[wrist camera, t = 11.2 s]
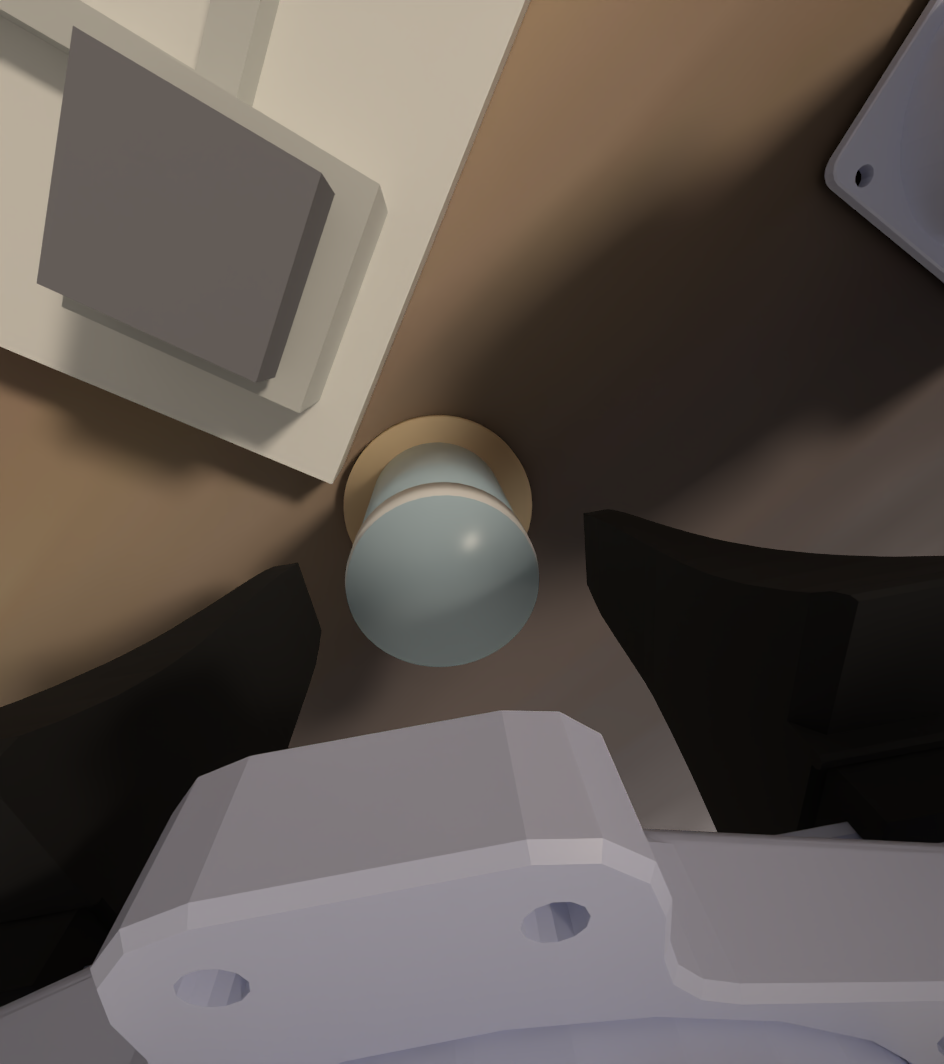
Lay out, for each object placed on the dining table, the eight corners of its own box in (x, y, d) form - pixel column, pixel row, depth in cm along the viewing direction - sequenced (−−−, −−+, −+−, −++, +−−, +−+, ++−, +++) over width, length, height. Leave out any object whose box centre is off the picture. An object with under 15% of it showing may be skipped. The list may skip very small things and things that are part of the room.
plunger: (349, 216, 10) (322, 173, 7) (297, 371, 11) (255, 382, 8) (177, 117, 9) (73, 25, 6) (139, 297, 10) (36, 282, 8)
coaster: (562, 464, 16) (566, 468, 15) (479, 609, 18) (480, 616, 17) (389, 379, 14) (387, 380, 14) (319, 549, 16) (316, 555, 16)
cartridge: (490, 427, 15) (525, 475, 10) (513, 550, 16) (552, 645, 11) (353, 457, 15) (314, 522, 9) (390, 578, 16) (376, 685, 11)
